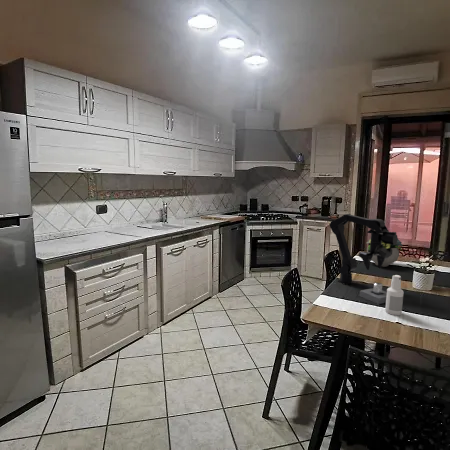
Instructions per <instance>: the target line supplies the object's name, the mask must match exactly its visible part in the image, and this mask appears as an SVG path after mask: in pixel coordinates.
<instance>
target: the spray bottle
mask: <svg viewBox="0 0 450 450" xmlns="http://www.w3.org/2000/svg"><path fill="white" fill-rule="evenodd" d="M401 279H402V277H401V275H398V274H395V275H392V277H391V283H390V287H388V288H387V289H386V292H387V297H386V303H385V309H384V311H385V312H386V313H387V314H388V315H389V314H390V315H391V316H392V315H393V316H401V315H402V314H403V313H402V311H403V302H404V290H403V289H402V288H401V286H402V285H401V284H402V283H401V282H402V280H401Z"/></svg>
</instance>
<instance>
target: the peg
mask: <svg viewBox="0 0 450 450" xmlns="http://www.w3.org/2000/svg"><path fill="white" fill-rule="evenodd" d="M372 288H373V294H376V295H381V293H382V290H383V283H380V282H373V287H372Z"/></svg>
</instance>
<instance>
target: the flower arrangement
mask: <svg viewBox="0 0 450 450" xmlns="http://www.w3.org/2000/svg"><path fill="white" fill-rule="evenodd" d="M370 241H371V238H369V239H368V240H367V241H366V244H369V243H370ZM382 244H383V245H384V248H387V249H388V248H392V255H391V256H389V258H386V259H385V260H384V262H383V264H382V266H381V268H385V267H389V265H390V264H393V263H395V262H396V261H398V260H399V257H400V251H401V252H402V251H403V249H402V247H403V244H402V241H401V240H400V239H399V238H398V241H397V244H396V245H392V244H386V243H383V242H382ZM368 250H370V245H367V249H366V252H368ZM369 253H370V252H369ZM371 259H372V260H371V262H373V263H374V265H375V266H376V267H377V266H378V261H377V256H373V257H372V258H371Z"/></svg>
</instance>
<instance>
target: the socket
mask: <svg viewBox="0 0 450 450" xmlns="http://www.w3.org/2000/svg"><path fill="white" fill-rule="evenodd" d="M358 295H359V297H361V298H363V299H365V300H367V301H371V302H373V303H375V304H377V305H380V304H384V303H385V304H386V297H387V290H383V289H382V293H381V295H376V294H373V287H372V288H367V289H362V290H359V294H358Z"/></svg>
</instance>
